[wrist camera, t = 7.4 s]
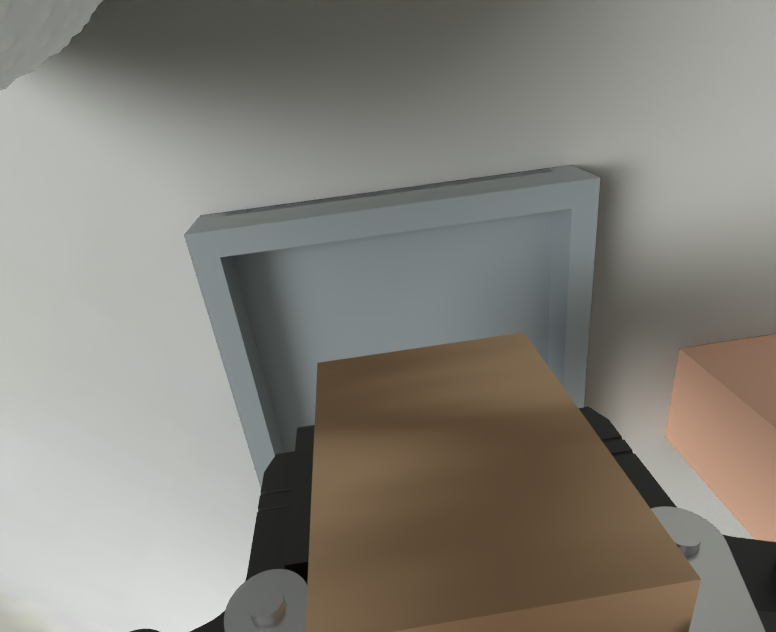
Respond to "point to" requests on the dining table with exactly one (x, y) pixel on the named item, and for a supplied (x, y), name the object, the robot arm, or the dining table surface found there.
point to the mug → (37, 32)
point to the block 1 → (477, 503)
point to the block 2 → (730, 425)
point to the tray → (394, 284)
